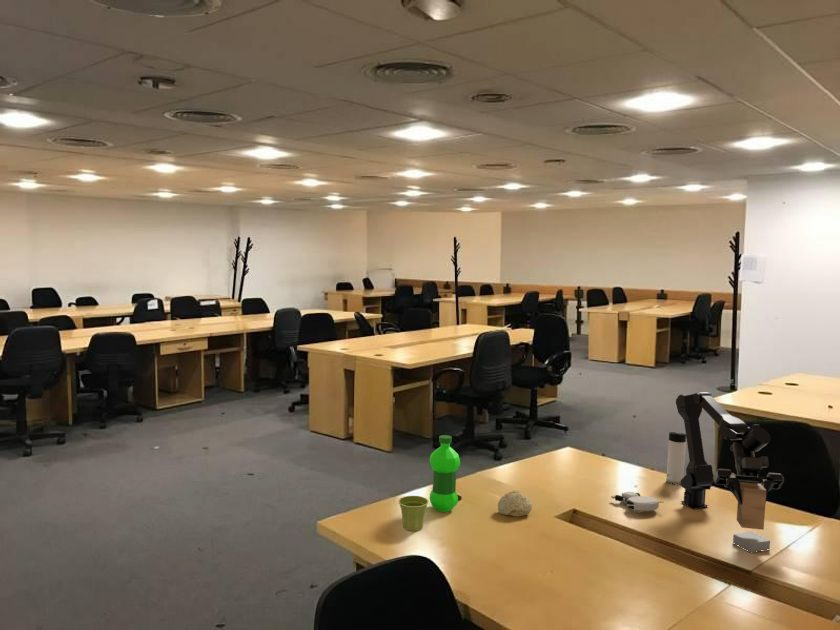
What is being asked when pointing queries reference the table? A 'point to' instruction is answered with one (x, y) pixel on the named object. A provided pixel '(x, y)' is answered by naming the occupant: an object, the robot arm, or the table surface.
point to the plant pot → (413, 512)
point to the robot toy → (638, 501)
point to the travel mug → (676, 457)
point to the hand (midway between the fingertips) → (752, 505)
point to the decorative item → (514, 504)
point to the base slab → (751, 541)
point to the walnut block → (751, 506)
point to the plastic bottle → (444, 475)
